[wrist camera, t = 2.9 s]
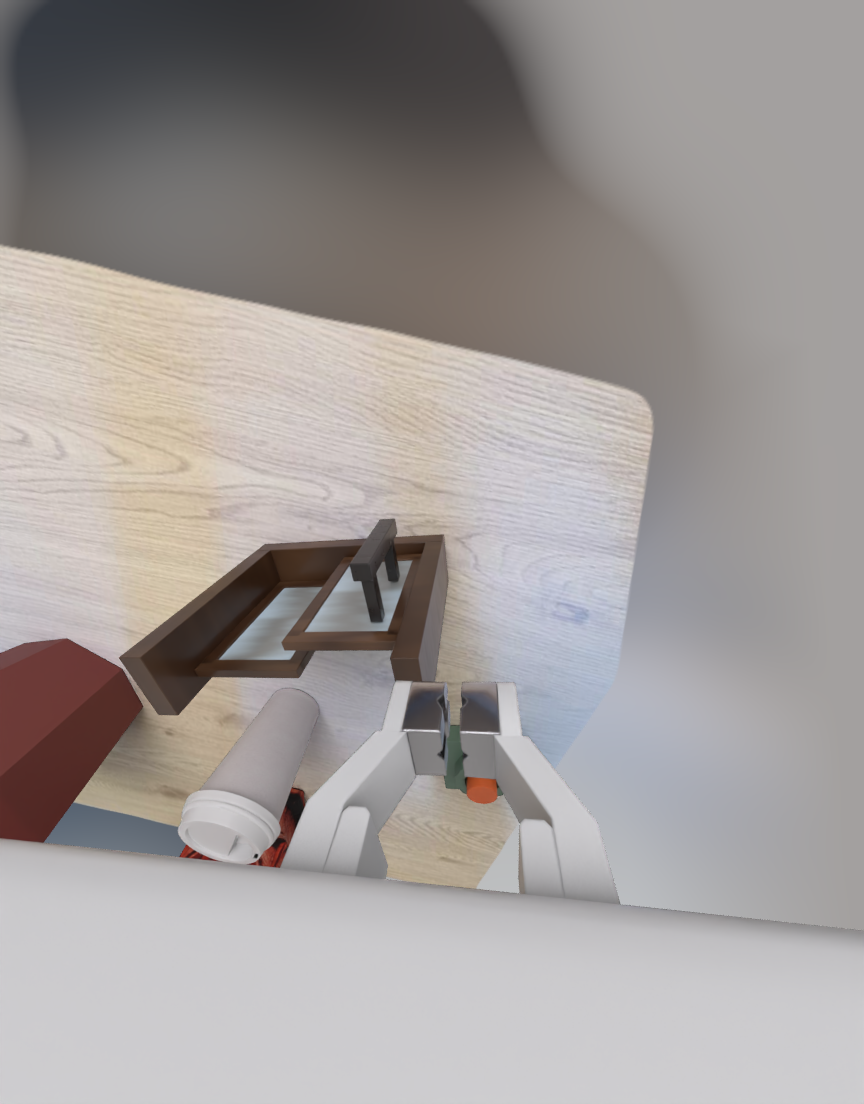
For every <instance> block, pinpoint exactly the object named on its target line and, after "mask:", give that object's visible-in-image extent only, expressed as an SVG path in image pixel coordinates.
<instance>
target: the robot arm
mask: <svg viewBox="0 0 864 1104" xmlns="http://www.w3.org/2000/svg"><path fill="white" fill-rule="evenodd" d="M447 694H448V689H447V683H446V682H430V681H397V680H396V682H395V684H394V685H393V689H392V692H391V696H390V700H389V703H388V707H387V711H386V714H385V718H384V722H383V725H382V729H381V731H375V732H374V733H373V734H372V735H371V736H370V737H369V738H368V739H367V740H366V741H365V742H364V743H363V744H362V745H361V746H360V747H359V748H358V749H357V750H356V752H355V753H354V754H353V755H352V756H351V757H350V758H349V759H348V760H347V761H346V762H345V763H344V764H343V765H342V766H341V767H340V768H339V769H338V770H337V771H336V772H335V773H334V774H333V775H332V776H331V777H330V778H329V779H328V780H327V781H326V782H325V783H324V784H323V785H322V786H321V787H320V788H319V789H318V790H317V791H316V792H315V793H314V794H313V795H312V796H311V797H310V798H309V799H308V800H307V802H306V805H305V807H304V810H303V812H302V815H301V817H300V820H299V822H298V825H297V827H296V829H295V832H294V834H293V837H292V839H291V842H290V844H289V847H288V849H287V852H286V854H285V857H284V859H283V862H282V864H281V866H280V868H275V867H266V866H257V865H247V864H238V863H229V862H219V861H210V860H200V859H191V858H182V857H172V856H163V855H152V854H144V853H135V852H125V851H115V850H106V849H96V848H88V847H78V846H69V845H59V844H50V843H40V842H31V841H21V840H12V839H2V838H0V1104H864V930H854V929H845V928H835V927H827V926H817V925H807V924H798V923H789V922H780V921H770V920H761V919H752V918H742V917H733V916H724V915H714V914H705V913H695V912H686V911H677V910H667V909H658V908H649V907H640V906H631V905H621V904H620V901H619V897H618V894H617V890H616V887H615V883H614V879H613V876H612V872H611V868H610V865H609V861H608V858H607V854H606V850H605V847H604V843H603V840H602V836H601V832H600V829H599V825H598V822H597V821H596V820H595V818H594V817H593V816H592V815H591V813H590V812H589V811H588V810H587V808H586V807H585V806H584V805H583V803H582V802H581V801H580V800H579V799H578V798H577V796H576V795H575V794H574V792H573V791H572V790H571V789H570V787H569V786H568V785H567V784H566V782H565V781H564V780H563V779H562V777H561V776H560V775H559V774H558V773H557V771H556V770H555V769H554V768H553V766H552V765H551V764H550V763H549V761H548V760H547V759H546V758H545V756H544V755H543V754H542V753H541V751H540V750H539V749H538V748H537V746H536V745H535V744H534V743H533V742H532V740H531V739H530V738H529V737H528V736H523V735H522V728H521V720H520V713H519V705H518V698H517V690H516V685H515V683H514V682H497V684H496V682H462V688H461V697H462V708H461V709H460V742H461V750H462V751H463V768H464V776H465V777H475V778H486V779H496V782H497V783H498V785H499V787H500V789H501V791H502V792H503V794H504V796H505V798H506V800H507V801H508V803H509V805H510V807H511V809H512V810H513V812H514V814H515V816H516V817H517V819H518V821H519V823H520V825H519V876H518V877H519V890H520V894H519V893H518V894H517V893H509V892H500V891H489V890H481V889H472V888H463V887H453V886H444V885H435V884H425V883H416V882H407V881H397V880H388V879H386V874H387V868H388V864H387V861H386V858H385V855H384V852H383V849H382V847H381V844H380V841H379V838H378V833H379V832H380V830H381V829H382V827H383V826H384V824H385V823H386V821H387V820H388V818H389V817H390V815H391V814H392V812H393V811H394V809H395V808H396V806H397V805H398V803H399V802H400V800H401V799H402V797H403V796H404V794H405V793H406V791H407V790H408V788H409V787H410V785H411V784H412V782H413V781H414V779H415V778H416V775H443V776H446V775H447V762H448V745H447V738H448V737H449V736H450V705H449V701H448V700H447Z"/></svg>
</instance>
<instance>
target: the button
mask: <svg viewBox="0 0 864 1104" xmlns="http://www.w3.org/2000/svg"><path fill="white" fill-rule="evenodd" d="M467 796H468V798H469V799H470V800H472V801H474V802H477V803H482V804H487V803H491V802H494V801H495V800H496V799H497V782H496V779H486V778H475V777H467Z"/></svg>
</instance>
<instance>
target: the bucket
mask: <svg viewBox="0 0 864 1104" xmlns="http://www.w3.org/2000/svg"><path fill="white" fill-rule="evenodd" d="M142 707H143V705H142V704H141V702H140V700H139V698H138V697H137V695H136V693H135V691H134V689H133V688H132V686H131V684H130V682H129V680H128V679H127V677H126V675H125V673H124V672H123V670H122V669H121V668H119V667H118V666H116V665H114V664H112V663H110V662H109V661H107V660H105V659H103V658H101V657H99V656H98V655H96V654H94V653H92V652H90V651H89V650H87V649H85V648H83V647H81V646H79V645H78V644H76V643H74V642H72V641H70V640H69V639H58V640H49V641H40V642H31V643H24V644H22V645H19V646H17V647H14V648H12V649H9V650H7V651H5V652H2V653H0V838H2V839H12V840H21V841H31V842H40V843H44V841H45V840H46V838H47V837H48V836H49V834H50V833H51V832H52V830H53V829H54V828H55V826H56V825H57V823H58V822H59V821H60V819H61V818H62V817H63V815H64V814H65V812H66V811H67V810H68V808H69V807H70V806H71V804H72V803H73V802H74V800H75V799H76V798H77V796H78V795H79V793H80V792H81V791H82V789H83V788H84V787H85V785H86V784H87V783H88V781H89V780H90V778H91V777H92V776H93V774H94V773H95V772H96V770H97V769H98V768H99V766H100V765H101V763H102V762H103V761H104V759H105V758H106V757H107V755H108V754H109V753H110V751H111V750H112V748H113V747H114V746H115V744H116V743H117V742H118V740H119V739H120V737H121V736H122V735H123V733H124V732H125V731H126V729H127V728H128V727H129V725H130V724H131V722H132V721H133V720H134V718H135V717H136V716H137V714H138V713H139V712H140V710H141V709H142Z"/></svg>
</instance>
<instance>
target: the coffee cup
mask: <svg viewBox="0 0 864 1104" xmlns="http://www.w3.org/2000/svg"><path fill="white" fill-rule="evenodd" d="M318 715H319V706H318V704H317V702H316V701H315V700H314V699H313V698H312V697H311V696H310V695H308V694H307V693H305V692H303V691H300V690H297V689H292V688H284V689H280V690H278V691H276V692H275V693H274V694H273V695H272V697H271V698H270V699H269V701H268V702H267V703H266V704H265V706H264V707H263V708H262V710H261V711H260V712H259V714H258V715H257V716H256V717H255V719H254V720H253V721H252V723H251V724H250V725H249V727H248V728H247V729H246V730H245V732H244V733H243V734H242V736H241V737H240V738H239V740H238V741H237V742H236V743H235V745H234V746H233V747H232V749H231V750H230V751H229V753H228V754H227V755H226V756H225V758H224V759H223V760H222V762H221V763H220V764H219V765H218V767H217V768H216V769H215V771H214V772H213V773H212V774H211V776H210V777H209V778H208V780H207V781H206V782H205V783H204V785H203V786H202V787H201V788H200V790H199V791H197V792H194V793H192V794H191V795H189V796H188V798H187V800H186V802H185V805H184V807H183V811H182V820H181V823H180V825H179V828H178V834H179V836H180V838H181V839H182V840H183V841H184V842H185V843H186V844H187V845H188V846H189V847H191V848H192V849H194V850H195V851H197V852H199V853H201V854H203V855H205V856H207V857H209V858H212V859H215V860H218V861H222V862H229V863H238V864H250V863H253V862H256V861H257V860H258V859H259V858H260V857H261V855H262V854H263V852H264V851H265V850H267V849H268V848H269V847H270V846H271V845H272V844H273V843H274V842H275V840H276V839H277V837H278V836H279V834H280V831H281V828H280V825H279V821H280V819H281V816H282V813H283V810H284V807H285V805H286V802H287V799H288V796H289V794H290V791H291V788H292V785H293V783H294V780H295V777H296V774H297V772H298V769H299V766H300V763H301V761H302V758H303V755H304V753H305V750H306V747H307V744H308V742H309V739H310V736H311V734H312V731H313V728H314V725H315V723H316V720H317V717H318Z"/></svg>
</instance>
